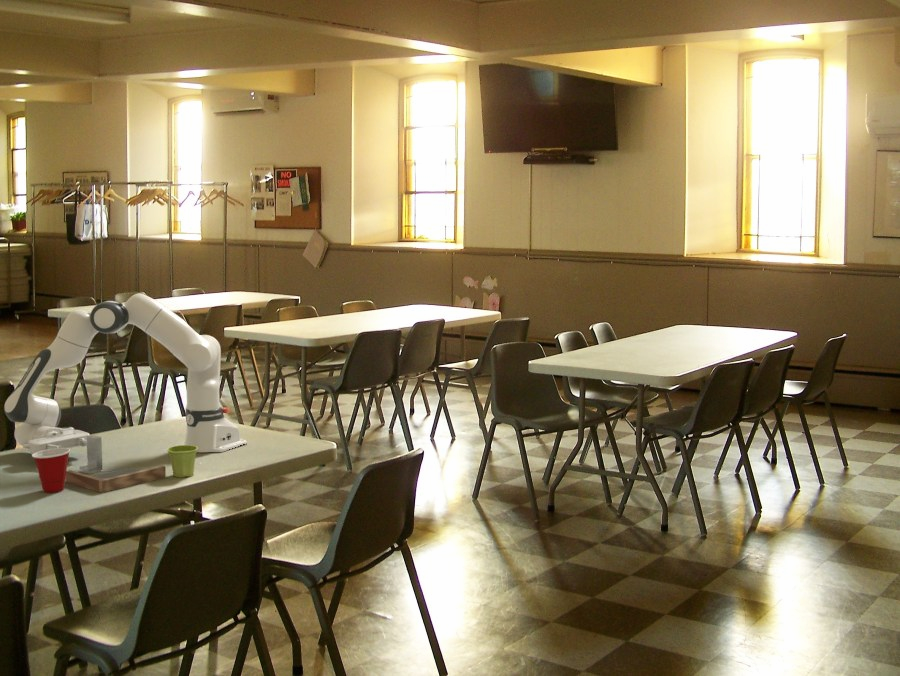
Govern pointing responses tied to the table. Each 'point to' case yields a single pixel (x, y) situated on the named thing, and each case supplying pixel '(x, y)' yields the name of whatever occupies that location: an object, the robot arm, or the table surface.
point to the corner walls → (115, 479)
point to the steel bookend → (93, 455)
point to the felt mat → (115, 473)
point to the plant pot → (182, 460)
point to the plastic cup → (52, 468)
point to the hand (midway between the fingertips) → (72, 446)
